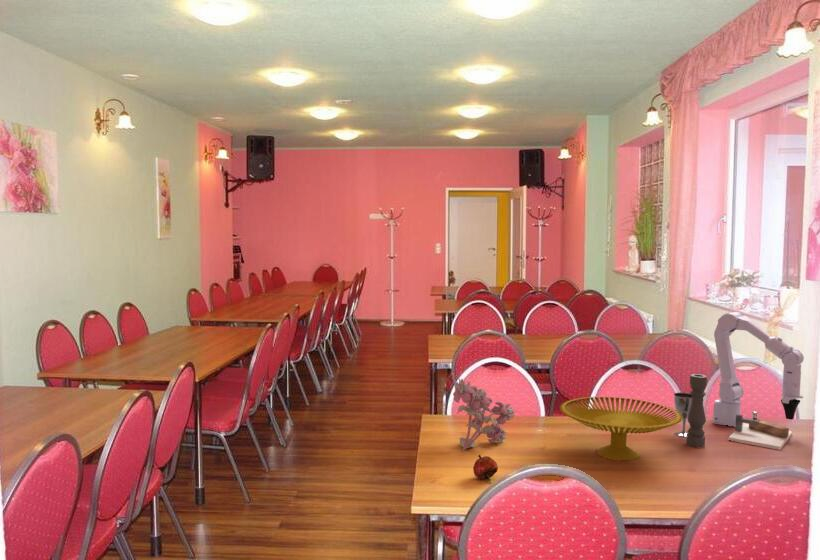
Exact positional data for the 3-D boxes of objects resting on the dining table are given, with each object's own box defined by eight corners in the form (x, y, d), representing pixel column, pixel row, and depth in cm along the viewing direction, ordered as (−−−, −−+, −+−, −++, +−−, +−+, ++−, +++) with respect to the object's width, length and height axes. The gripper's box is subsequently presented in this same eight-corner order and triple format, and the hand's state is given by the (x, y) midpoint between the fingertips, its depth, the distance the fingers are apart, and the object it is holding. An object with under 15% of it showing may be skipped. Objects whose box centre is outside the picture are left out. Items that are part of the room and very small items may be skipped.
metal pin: (750, 419, 270) (751, 412, 269) (752, 418, 271) (752, 410, 271) (757, 420, 268) (758, 413, 268) (759, 419, 270) (759, 411, 270)
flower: (509, 456, 234) (520, 383, 242) (442, 445, 238) (454, 372, 246) (509, 464, 252) (519, 395, 260) (447, 452, 256) (458, 385, 265)
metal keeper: (735, 430, 267) (736, 415, 266) (736, 429, 268) (737, 414, 268) (757, 434, 262) (757, 418, 262) (758, 433, 264) (759, 417, 263)
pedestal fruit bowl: (595, 480, 218) (597, 432, 217) (538, 440, 257) (539, 399, 255) (707, 469, 229) (710, 423, 227) (636, 432, 267) (637, 393, 266)
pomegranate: (500, 487, 217) (491, 459, 224) (503, 474, 212) (494, 446, 219) (477, 491, 216) (468, 463, 223) (479, 478, 211) (470, 450, 218)
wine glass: (670, 435, 264) (672, 396, 263) (673, 430, 271) (675, 391, 270) (693, 439, 260) (695, 398, 259) (696, 433, 267) (698, 394, 266)
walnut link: (746, 427, 271) (746, 419, 271) (753, 425, 273) (753, 418, 272) (782, 437, 258) (782, 429, 258) (789, 436, 260) (789, 428, 259)
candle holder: (706, 448, 250) (709, 378, 248) (687, 446, 251) (691, 377, 249) (702, 442, 256) (706, 374, 254) (684, 441, 257) (687, 373, 255)
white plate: (728, 440, 259) (728, 437, 259) (743, 426, 277) (743, 423, 277) (780, 449, 249) (780, 446, 249) (791, 434, 267) (792, 431, 267)
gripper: (798, 387, 255) (796, 424, 256) (808, 381, 266) (806, 416, 267) (776, 384, 260) (775, 421, 261) (787, 378, 271) (786, 413, 272)
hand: (789, 418), depth 264 cm, fingers closed
